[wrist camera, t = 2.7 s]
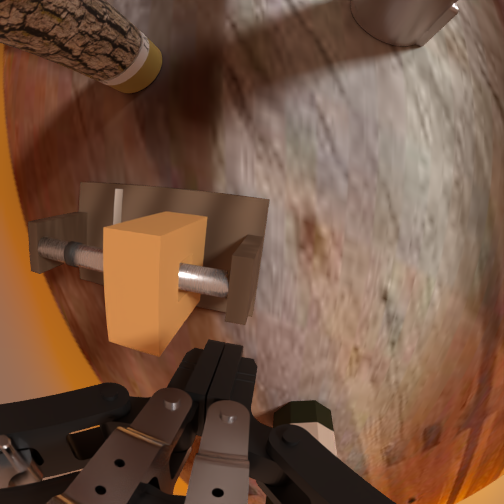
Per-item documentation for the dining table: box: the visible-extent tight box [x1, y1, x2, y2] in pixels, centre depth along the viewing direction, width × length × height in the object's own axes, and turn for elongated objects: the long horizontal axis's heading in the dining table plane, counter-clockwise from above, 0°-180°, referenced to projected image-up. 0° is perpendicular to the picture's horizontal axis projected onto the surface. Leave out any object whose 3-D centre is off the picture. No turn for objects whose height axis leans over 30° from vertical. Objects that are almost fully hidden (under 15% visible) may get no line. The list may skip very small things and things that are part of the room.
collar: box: [103, 211, 207, 357], centre depth 21 cm, size 4×8×10 cm, turn 172°
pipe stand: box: [28, 182, 269, 325], centre depth 25 cm, size 22×12×10 cm, turn 82°
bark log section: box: [0, 0, 162, 93], centre depth 14 cm, size 7×7×25 cm
